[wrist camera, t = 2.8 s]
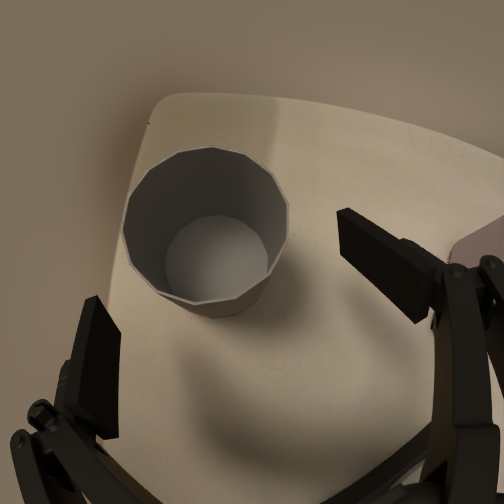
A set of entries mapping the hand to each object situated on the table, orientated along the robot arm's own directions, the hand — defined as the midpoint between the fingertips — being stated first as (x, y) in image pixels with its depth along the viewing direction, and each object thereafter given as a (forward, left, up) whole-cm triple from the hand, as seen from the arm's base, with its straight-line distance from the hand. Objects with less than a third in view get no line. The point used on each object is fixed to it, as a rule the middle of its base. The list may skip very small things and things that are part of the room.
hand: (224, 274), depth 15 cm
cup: (0, +3, -9) cm, 9 cm away
